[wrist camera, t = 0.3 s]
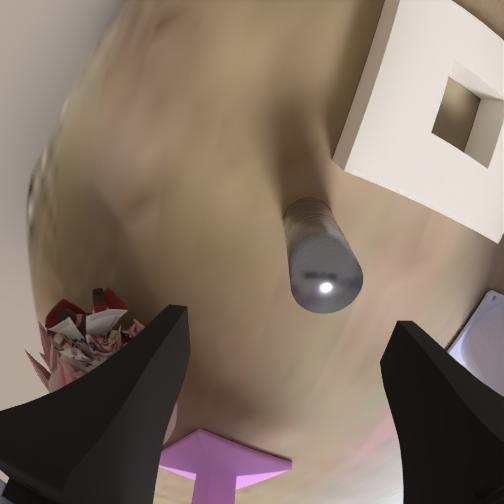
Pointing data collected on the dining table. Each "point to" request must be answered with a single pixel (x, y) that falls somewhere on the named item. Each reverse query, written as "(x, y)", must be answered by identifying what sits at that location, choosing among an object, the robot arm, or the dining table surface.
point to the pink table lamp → (219, 466)
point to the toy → (84, 341)
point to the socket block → (430, 113)
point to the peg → (319, 258)
